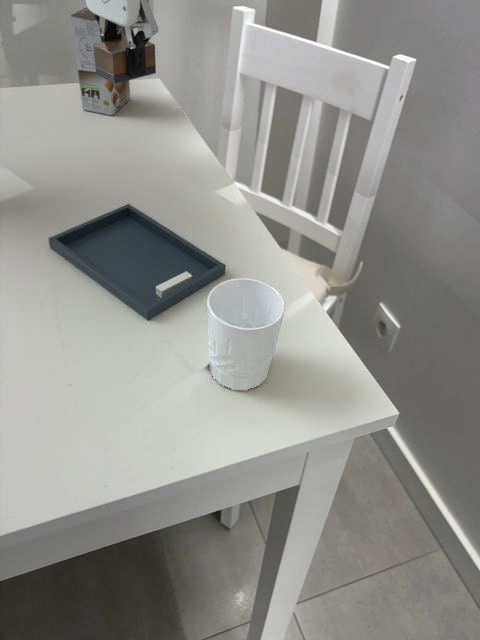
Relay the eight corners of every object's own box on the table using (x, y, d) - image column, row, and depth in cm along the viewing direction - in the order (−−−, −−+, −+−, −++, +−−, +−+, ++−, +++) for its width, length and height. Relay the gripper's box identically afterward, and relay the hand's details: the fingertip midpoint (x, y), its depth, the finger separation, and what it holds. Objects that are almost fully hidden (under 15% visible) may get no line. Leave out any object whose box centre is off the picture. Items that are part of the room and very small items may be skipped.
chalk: (155, 286, 68) (161, 291, 67) (186, 271, 71) (192, 275, 70) (155, 293, 69) (161, 298, 68) (186, 278, 71) (192, 282, 71)
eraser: (95, 74, 83) (92, 44, 80) (137, 64, 88) (135, 35, 85) (114, 84, 81) (112, 53, 78) (156, 73, 86) (155, 44, 83)
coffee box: (113, 116, 104) (105, 21, 92) (81, 110, 104) (69, 15, 93) (131, 99, 110) (125, 8, 99) (101, 93, 111) (92, 2, 99)
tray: (50, 252, 73) (47, 238, 72) (129, 217, 81) (128, 203, 80) (148, 325, 66) (147, 311, 64) (224, 278, 73) (225, 264, 72)
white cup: (266, 402, 59) (278, 336, 52) (196, 387, 60) (198, 320, 53) (278, 351, 65) (290, 286, 58) (213, 338, 65) (217, 271, 58)
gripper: (51, -92, 72) (71, 56, 85) (135, -64, 65) (142, 93, 78) (98, -94, 77) (110, 48, 90) (181, -67, 70) (181, 82, 83)
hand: (125, 68), depth 84 cm, fingers closed on eraser, 4 cm apart
